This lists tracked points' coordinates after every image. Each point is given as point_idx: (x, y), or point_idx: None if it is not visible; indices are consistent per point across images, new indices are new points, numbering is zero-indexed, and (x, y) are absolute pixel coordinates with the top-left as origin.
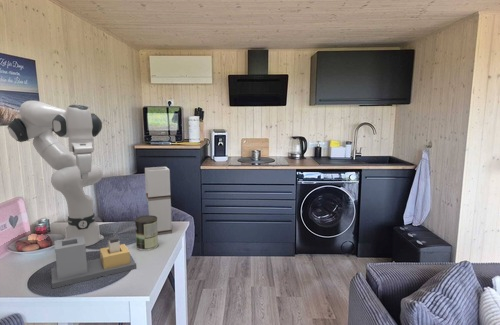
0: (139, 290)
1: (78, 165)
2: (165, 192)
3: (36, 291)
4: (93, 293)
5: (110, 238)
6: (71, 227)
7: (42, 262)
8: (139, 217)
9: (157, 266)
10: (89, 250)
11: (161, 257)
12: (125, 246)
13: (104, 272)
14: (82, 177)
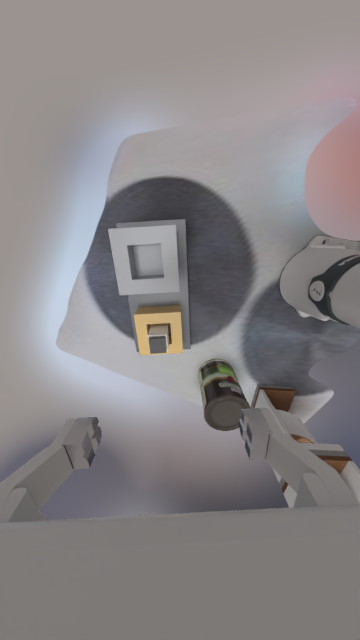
0: (68, 341)
1: (45, 635)
2: (291, 496)
3: (119, 197)
4: (79, 285)
5: (160, 340)
6: (332, 262)
7: (250, 198)
8: (244, 405)
9: (132, 372)
10: (256, 288)
11: (160, 382)
12: (169, 352)
13: (130, 306)
14: (243, 423)
